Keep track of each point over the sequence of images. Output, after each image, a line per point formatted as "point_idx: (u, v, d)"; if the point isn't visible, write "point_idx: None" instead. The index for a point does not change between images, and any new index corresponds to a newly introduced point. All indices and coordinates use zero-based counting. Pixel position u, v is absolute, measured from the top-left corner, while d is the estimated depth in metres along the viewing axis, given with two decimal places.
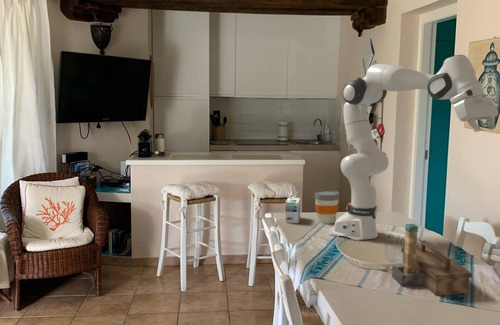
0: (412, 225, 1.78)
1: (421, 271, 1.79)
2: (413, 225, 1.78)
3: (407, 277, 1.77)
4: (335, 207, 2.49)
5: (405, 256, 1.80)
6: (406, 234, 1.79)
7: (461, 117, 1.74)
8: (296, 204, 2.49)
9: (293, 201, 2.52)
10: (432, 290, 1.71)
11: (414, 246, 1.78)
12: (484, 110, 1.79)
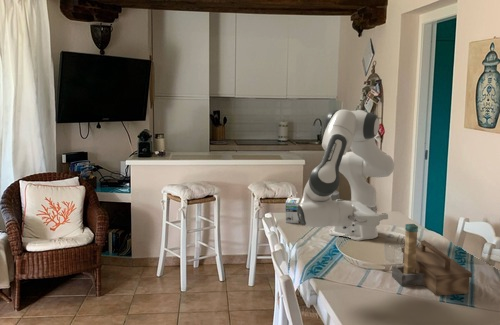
0: (412, 225, 1.78)
1: (421, 271, 1.79)
2: (413, 225, 1.78)
3: (407, 277, 1.77)
4: None
5: (405, 256, 1.80)
6: (406, 234, 1.79)
7: None
8: (296, 204, 2.49)
9: (293, 201, 2.52)
10: (432, 290, 1.71)
11: (414, 246, 1.78)
12: None
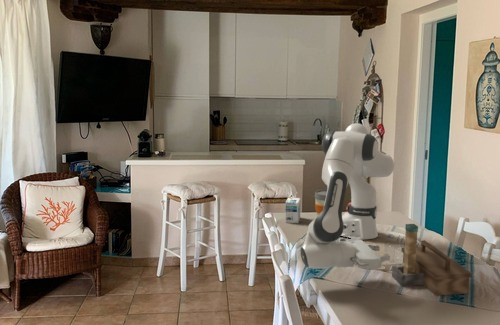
0: (412, 225, 1.78)
1: (421, 271, 1.79)
2: (413, 225, 1.78)
3: (407, 277, 1.77)
4: None
5: (405, 256, 1.80)
6: (406, 234, 1.79)
7: None
8: (296, 204, 2.49)
9: (293, 201, 2.52)
10: (432, 290, 1.71)
11: (414, 246, 1.78)
12: None
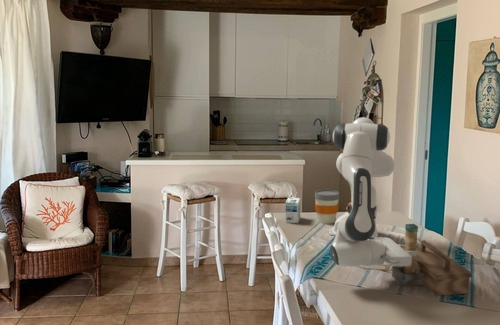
0: (412, 225, 1.78)
1: (421, 271, 1.79)
2: (413, 225, 1.78)
3: (407, 277, 1.77)
4: (335, 207, 2.49)
5: None
6: (406, 234, 1.79)
7: None
8: (296, 204, 2.49)
9: (293, 201, 2.52)
10: (432, 290, 1.71)
11: (414, 246, 1.78)
12: None
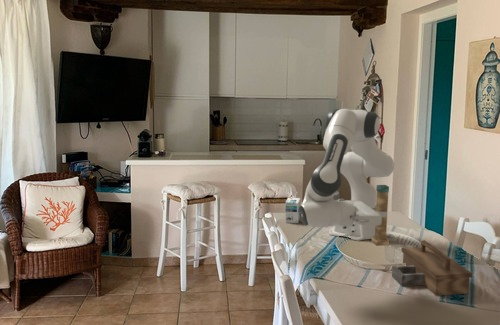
0: (383, 186, 1.73)
1: (421, 271, 1.79)
2: (384, 186, 1.73)
3: (407, 277, 1.77)
4: None
5: None
6: (377, 195, 1.75)
7: None
8: (296, 204, 2.49)
9: (293, 201, 2.52)
10: (432, 290, 1.71)
11: (385, 207, 1.73)
12: None
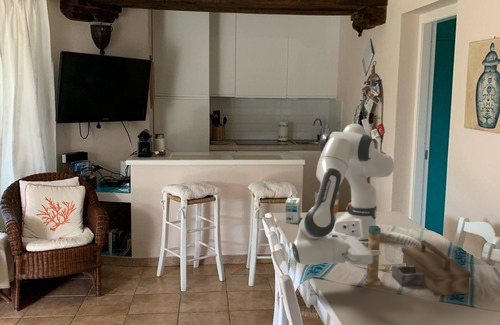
0: (375, 227, 1.75)
1: (421, 271, 1.79)
2: (376, 227, 1.75)
3: (407, 277, 1.77)
4: (335, 207, 2.49)
5: None
6: (369, 236, 1.77)
7: None
8: (296, 204, 2.49)
9: (293, 201, 2.52)
10: (432, 290, 1.71)
11: (377, 248, 1.76)
12: None
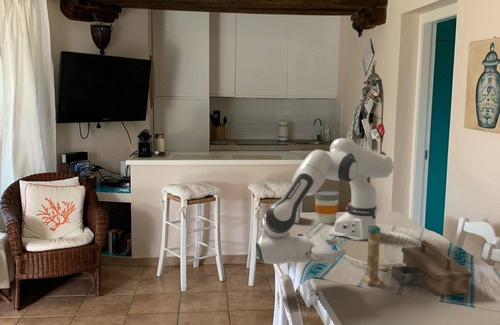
0: (375, 227, 1.76)
1: (421, 271, 1.79)
2: (376, 227, 1.76)
3: (407, 277, 1.77)
4: (335, 207, 2.49)
5: (368, 258, 1.79)
6: (369, 236, 1.77)
7: None
8: None
9: None
10: (432, 290, 1.71)
11: (377, 248, 1.76)
12: None
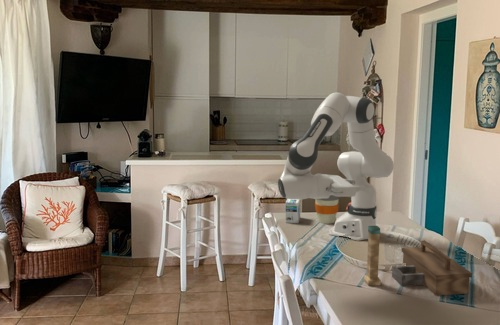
0: (375, 227, 1.76)
1: (421, 271, 1.79)
2: (375, 227, 1.76)
3: (407, 277, 1.77)
4: (335, 207, 2.49)
5: (368, 258, 1.79)
6: (369, 236, 1.77)
7: None
8: (296, 204, 2.49)
9: (293, 201, 2.52)
10: (432, 290, 1.71)
11: (377, 248, 1.76)
12: None
